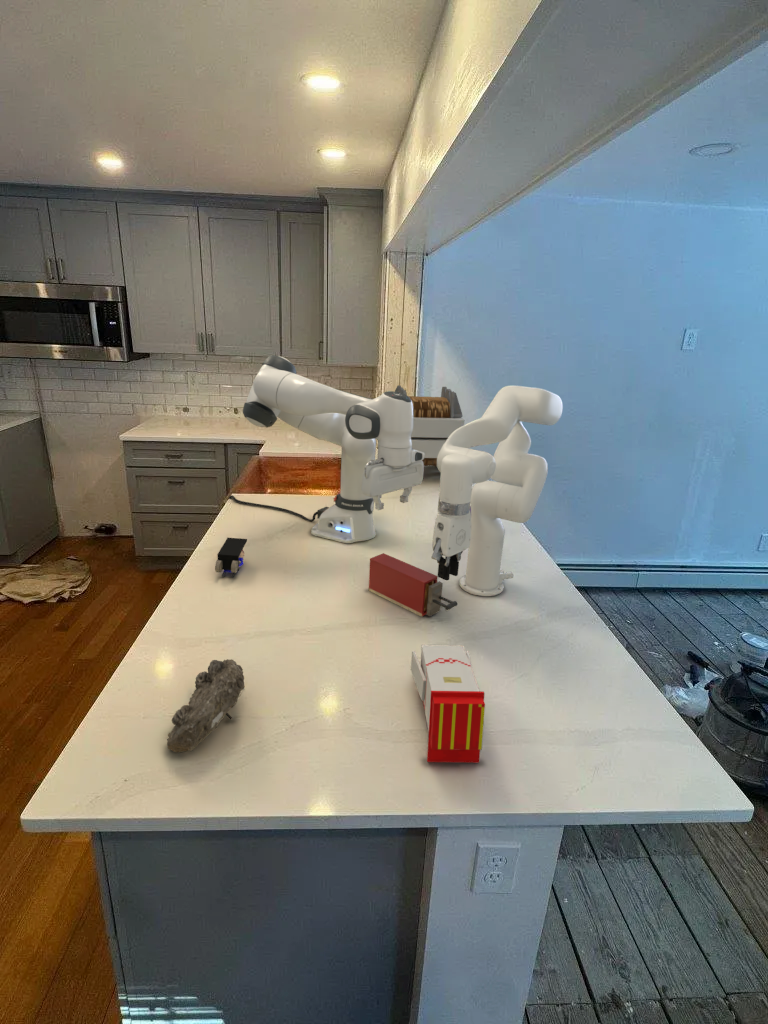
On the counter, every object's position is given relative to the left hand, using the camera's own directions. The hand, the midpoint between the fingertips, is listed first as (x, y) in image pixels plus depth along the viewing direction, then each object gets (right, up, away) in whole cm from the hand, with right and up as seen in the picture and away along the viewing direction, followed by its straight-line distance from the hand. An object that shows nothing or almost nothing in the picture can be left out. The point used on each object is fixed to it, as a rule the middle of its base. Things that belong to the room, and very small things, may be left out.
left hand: (391, 505), depth 153 cm
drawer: (+6, -26, -1) cm, 27 cm away
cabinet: (+2, -26, +2) cm, 26 cm away
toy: (+10, -41, -40) cm, 58 cm away
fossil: (-35, -41, -44) cm, 70 cm away
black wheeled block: (-47, -19, +15) cm, 53 cm away
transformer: (+15, +17, +122) cm, 125 cm away
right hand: (+14, -18, -12) cm, 25 cm away
